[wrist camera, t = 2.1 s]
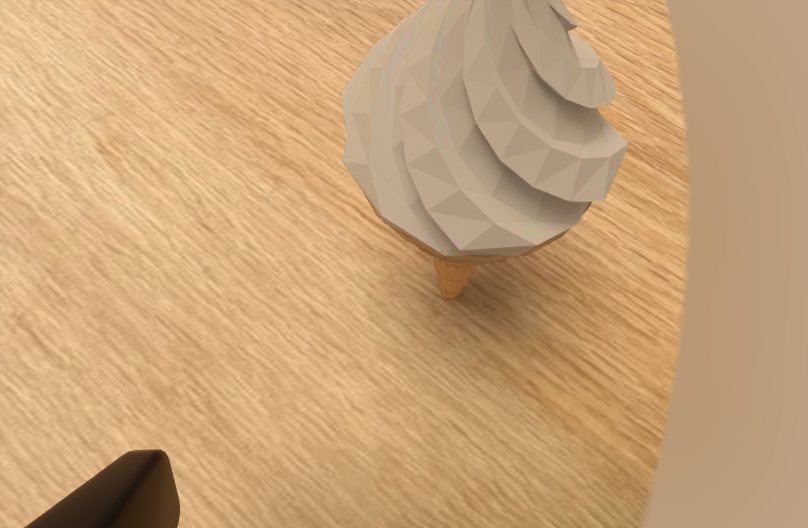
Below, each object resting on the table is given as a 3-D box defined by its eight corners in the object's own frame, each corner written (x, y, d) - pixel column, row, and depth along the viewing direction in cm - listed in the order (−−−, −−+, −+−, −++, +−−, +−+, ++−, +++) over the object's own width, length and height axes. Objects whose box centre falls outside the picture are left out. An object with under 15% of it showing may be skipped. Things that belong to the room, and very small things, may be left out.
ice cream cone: (429, 196, 23) (450, -283, 9) (559, 273, 22) (820, -144, 8) (341, 313, 21) (199, -51, 7) (477, 404, 20) (618, 176, 6)
